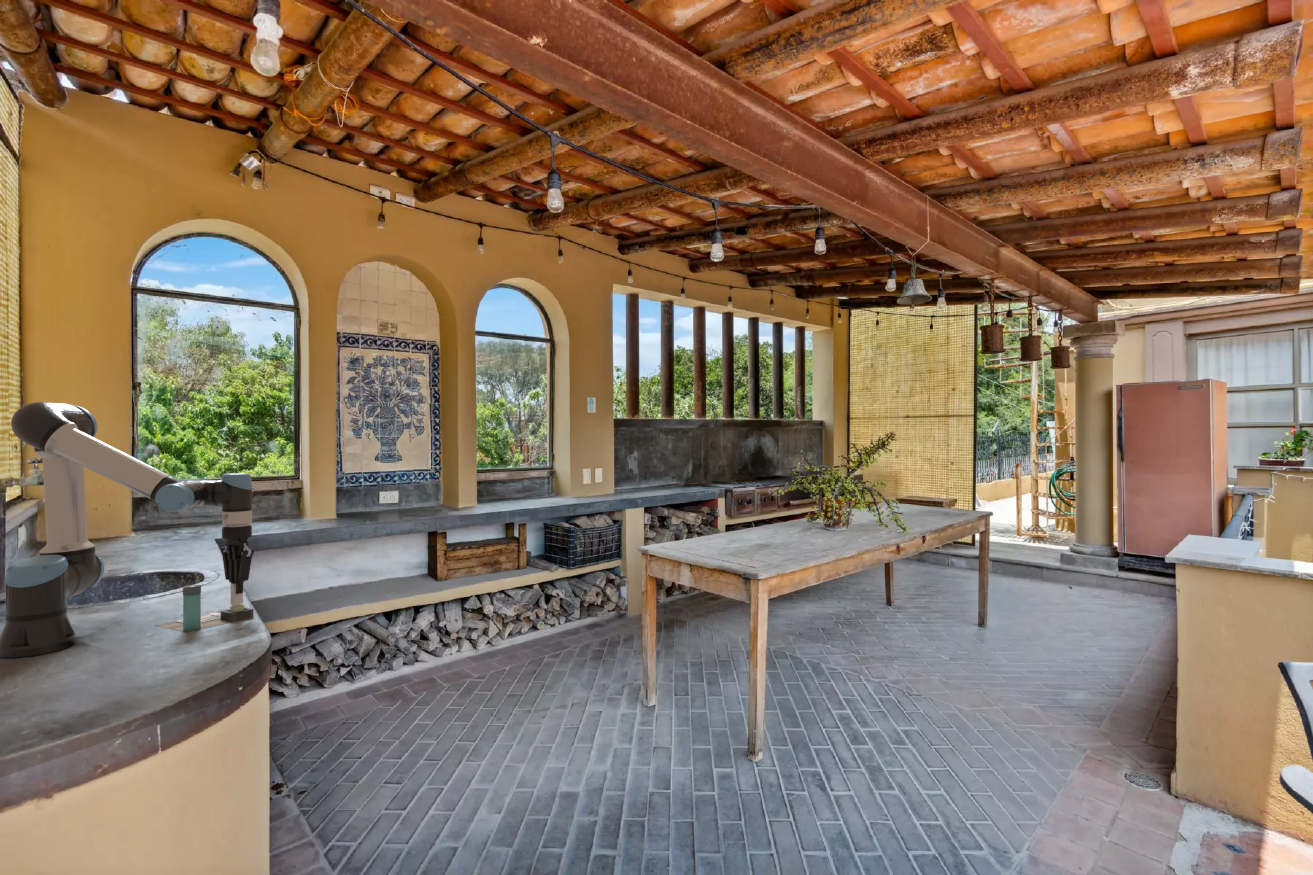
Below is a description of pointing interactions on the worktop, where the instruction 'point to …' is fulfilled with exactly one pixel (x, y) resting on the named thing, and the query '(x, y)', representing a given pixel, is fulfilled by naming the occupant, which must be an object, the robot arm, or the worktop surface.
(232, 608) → the button
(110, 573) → the worktop surface
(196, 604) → the marker
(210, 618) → the clipboard
